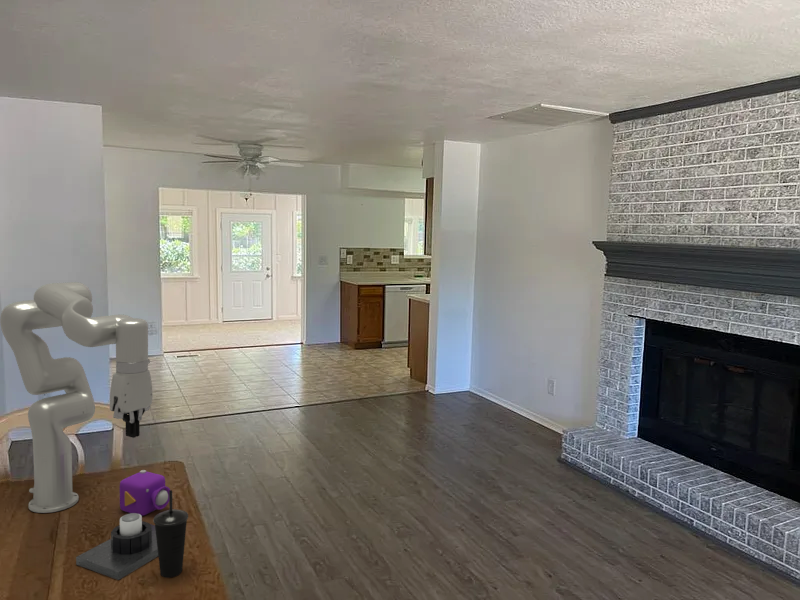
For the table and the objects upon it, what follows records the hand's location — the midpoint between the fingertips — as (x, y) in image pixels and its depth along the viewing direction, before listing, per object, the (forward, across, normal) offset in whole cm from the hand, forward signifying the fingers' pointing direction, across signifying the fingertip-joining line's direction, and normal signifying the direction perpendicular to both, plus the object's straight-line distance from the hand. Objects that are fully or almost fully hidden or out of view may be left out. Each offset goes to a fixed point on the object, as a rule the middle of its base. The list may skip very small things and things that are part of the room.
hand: (132, 435), depth 156 cm
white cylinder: (+25, +7, +7) cm, 27 cm away
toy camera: (+27, -12, -8) cm, 31 cm away
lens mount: (+27, +7, +7) cm, 29 cm away
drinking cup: (+27, +9, +22) cm, 36 cm away
